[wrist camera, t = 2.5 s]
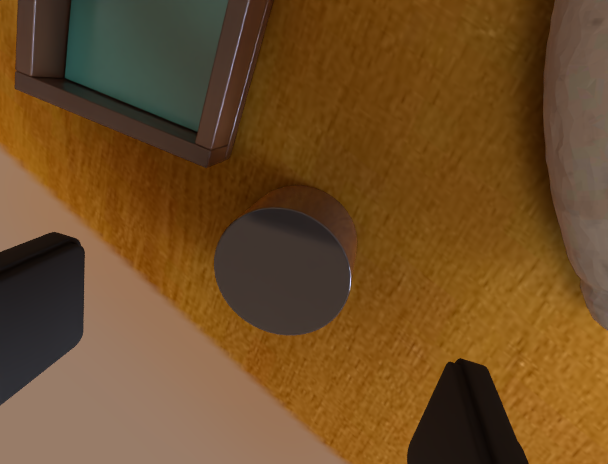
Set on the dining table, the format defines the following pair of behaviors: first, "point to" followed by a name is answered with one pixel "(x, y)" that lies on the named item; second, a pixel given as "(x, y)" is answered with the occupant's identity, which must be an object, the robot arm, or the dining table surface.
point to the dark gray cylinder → (288, 261)
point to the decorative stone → (580, 140)
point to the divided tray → (146, 66)
